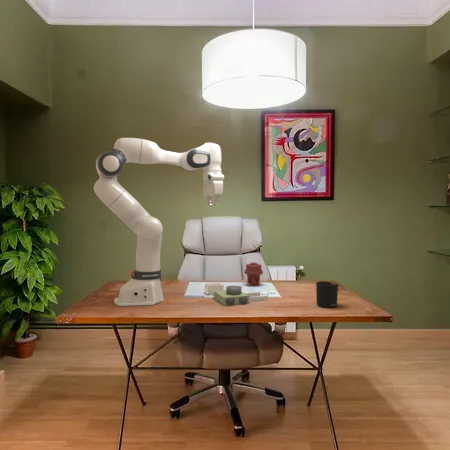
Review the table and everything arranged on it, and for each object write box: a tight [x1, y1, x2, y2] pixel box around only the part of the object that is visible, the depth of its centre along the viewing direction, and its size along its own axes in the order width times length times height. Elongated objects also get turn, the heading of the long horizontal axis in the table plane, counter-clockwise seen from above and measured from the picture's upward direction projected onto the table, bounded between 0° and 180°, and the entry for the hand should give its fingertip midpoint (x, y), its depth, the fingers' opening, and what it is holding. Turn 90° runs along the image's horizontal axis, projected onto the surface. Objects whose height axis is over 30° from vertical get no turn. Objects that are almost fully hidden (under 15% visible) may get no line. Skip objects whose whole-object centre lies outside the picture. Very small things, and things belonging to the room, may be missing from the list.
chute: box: [204, 282, 225, 296], centre depth 203 cm, size 8×6×5 cm
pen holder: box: [315, 281, 339, 309], centre depth 180 cm, size 9×9×10 cm
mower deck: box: [213, 285, 269, 306], centre depth 190 cm, size 22×15×6 cm
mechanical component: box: [244, 261, 264, 287], centre depth 224 cm, size 12×10×10 cm
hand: (212, 205), depth 197 cm, fingers open, 8 cm apart
